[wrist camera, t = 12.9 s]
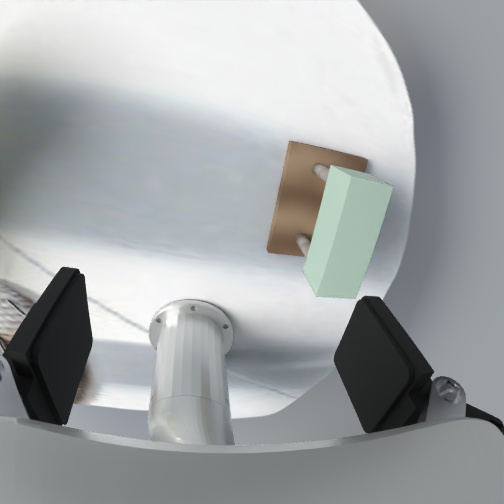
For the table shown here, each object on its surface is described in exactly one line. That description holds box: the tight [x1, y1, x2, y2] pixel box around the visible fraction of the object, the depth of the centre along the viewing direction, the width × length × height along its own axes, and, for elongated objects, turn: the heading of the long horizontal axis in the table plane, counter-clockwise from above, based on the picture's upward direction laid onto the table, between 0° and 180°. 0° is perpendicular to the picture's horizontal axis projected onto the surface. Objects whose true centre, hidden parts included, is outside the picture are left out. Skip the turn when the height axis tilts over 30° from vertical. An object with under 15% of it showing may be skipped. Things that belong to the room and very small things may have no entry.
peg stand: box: [267, 141, 368, 258], centre depth 36 cm, size 14×10×7 cm
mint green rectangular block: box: [303, 165, 393, 299], centre depth 30 cm, size 4×12×5 cm, turn 170°
